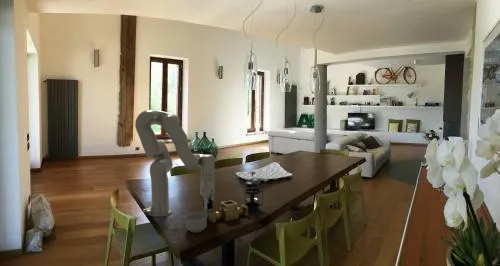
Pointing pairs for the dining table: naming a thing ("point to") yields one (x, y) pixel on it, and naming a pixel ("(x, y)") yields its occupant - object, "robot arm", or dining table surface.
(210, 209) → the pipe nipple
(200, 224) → the teacup
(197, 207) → the dining table surface
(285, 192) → the dining table surface
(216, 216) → the valve body
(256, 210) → the french press
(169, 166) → the robot arm
